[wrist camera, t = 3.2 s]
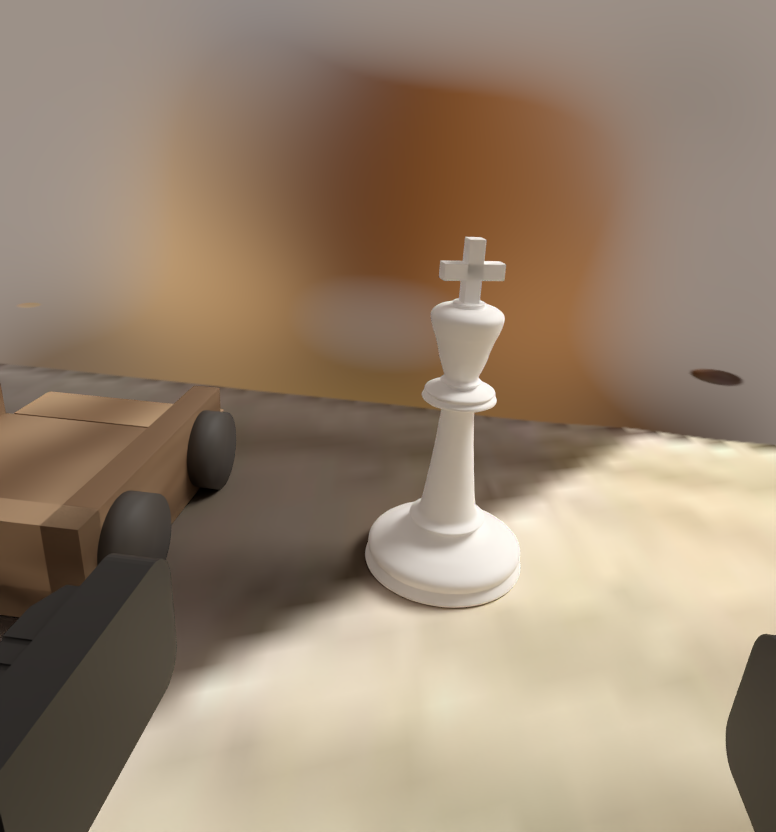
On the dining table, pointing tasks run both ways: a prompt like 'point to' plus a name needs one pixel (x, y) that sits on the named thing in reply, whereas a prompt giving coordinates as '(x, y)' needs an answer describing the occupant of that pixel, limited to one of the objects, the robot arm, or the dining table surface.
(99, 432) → the truck bed
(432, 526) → the chess piece
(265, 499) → the dining table surface
